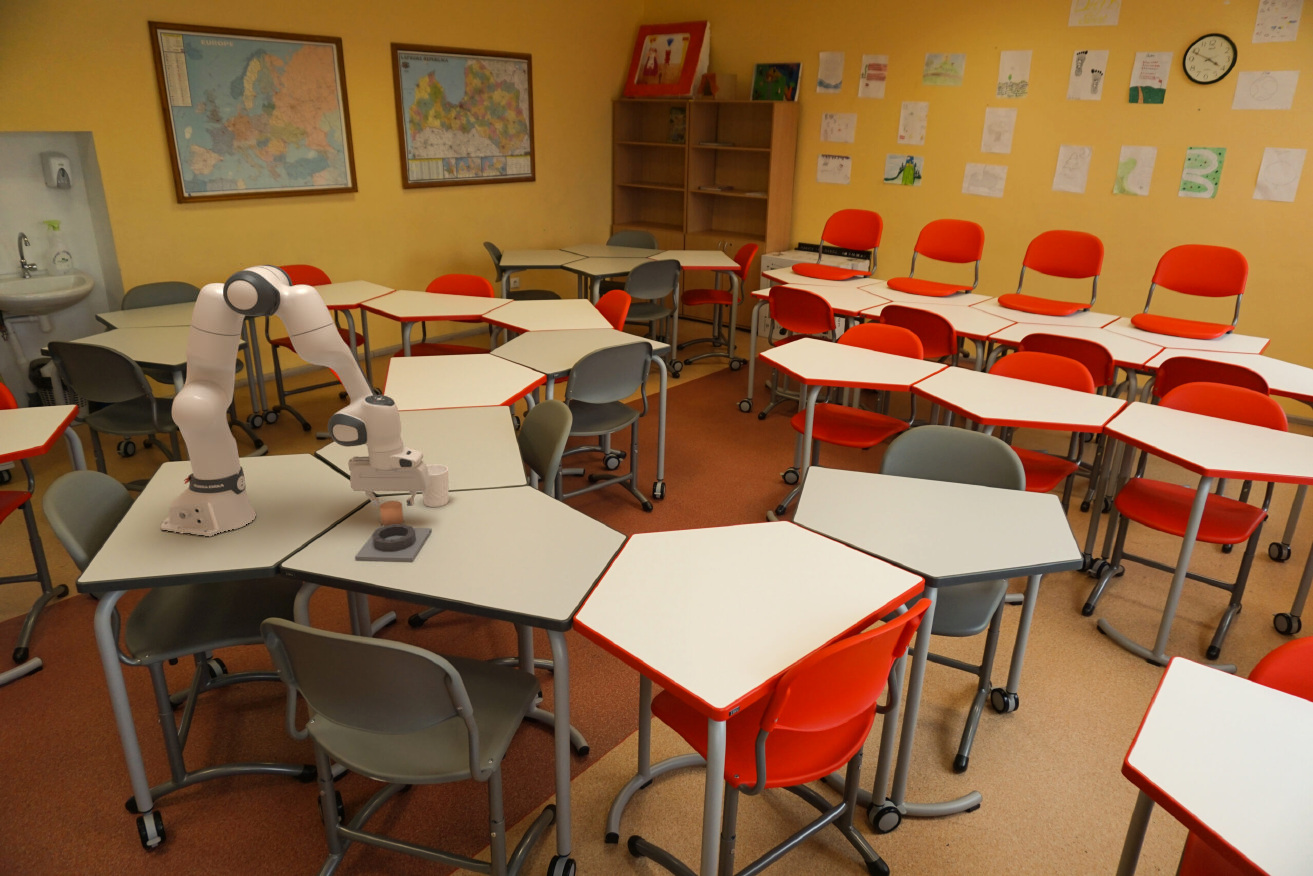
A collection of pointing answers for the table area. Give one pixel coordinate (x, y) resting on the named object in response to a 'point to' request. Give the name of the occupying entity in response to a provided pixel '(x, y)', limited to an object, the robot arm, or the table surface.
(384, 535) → the square flange plate
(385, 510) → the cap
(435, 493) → the white cup
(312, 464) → the table surface
